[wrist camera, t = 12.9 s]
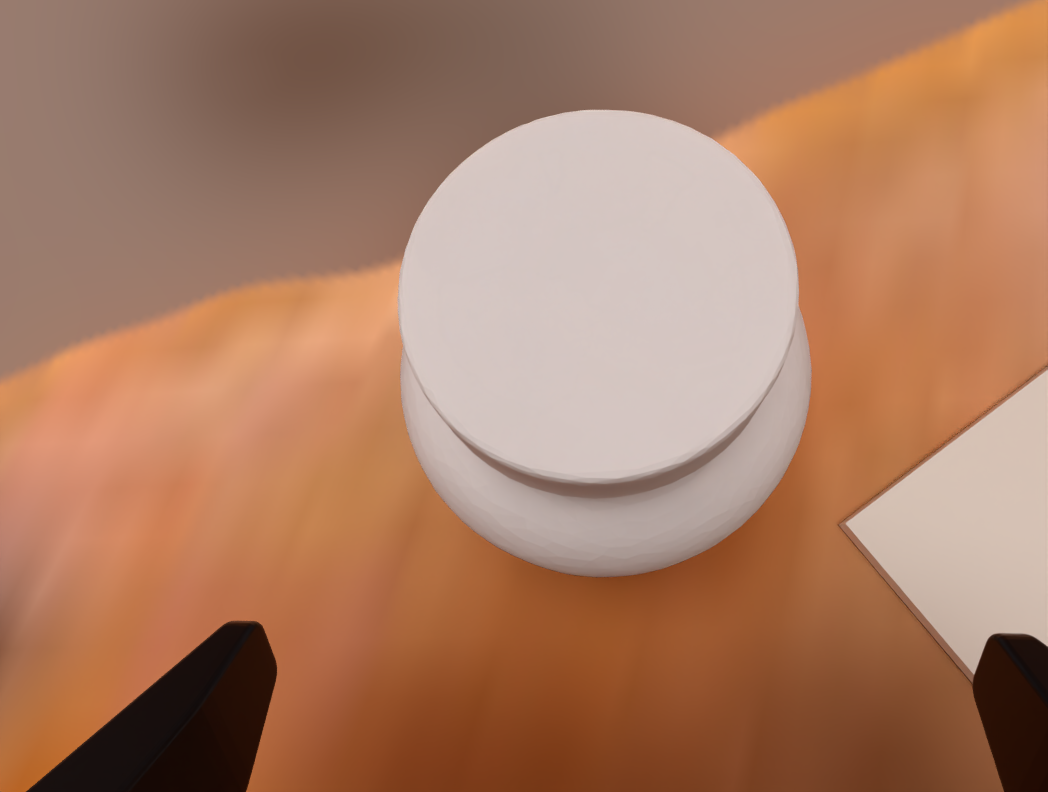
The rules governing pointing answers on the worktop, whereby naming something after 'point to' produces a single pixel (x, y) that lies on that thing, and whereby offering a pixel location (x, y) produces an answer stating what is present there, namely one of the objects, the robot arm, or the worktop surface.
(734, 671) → the worktop surface
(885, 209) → the worktop surface
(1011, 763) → the robot arm
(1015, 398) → the pad
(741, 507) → the supplement bottle
